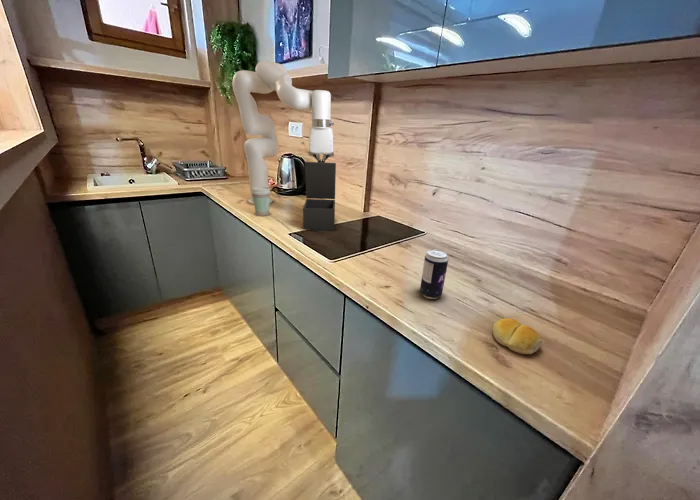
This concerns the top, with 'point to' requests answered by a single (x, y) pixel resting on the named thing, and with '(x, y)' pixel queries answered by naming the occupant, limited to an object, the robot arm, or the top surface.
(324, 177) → the lid
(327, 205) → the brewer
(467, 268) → the top surface
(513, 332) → the bread roll
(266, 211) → the coffee cup
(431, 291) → the beverage can
